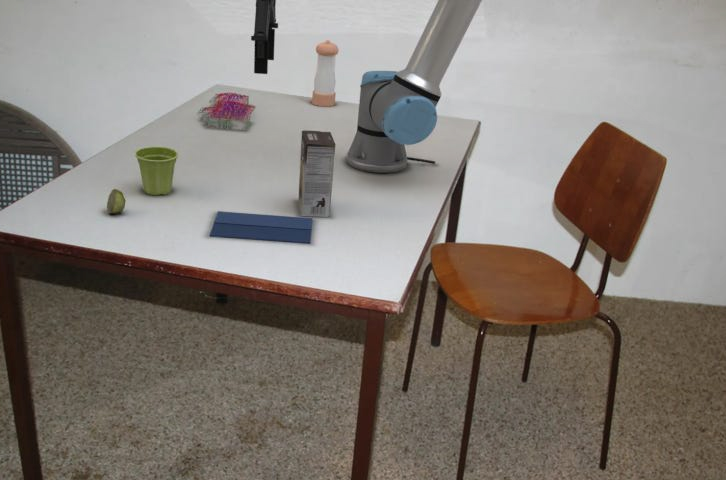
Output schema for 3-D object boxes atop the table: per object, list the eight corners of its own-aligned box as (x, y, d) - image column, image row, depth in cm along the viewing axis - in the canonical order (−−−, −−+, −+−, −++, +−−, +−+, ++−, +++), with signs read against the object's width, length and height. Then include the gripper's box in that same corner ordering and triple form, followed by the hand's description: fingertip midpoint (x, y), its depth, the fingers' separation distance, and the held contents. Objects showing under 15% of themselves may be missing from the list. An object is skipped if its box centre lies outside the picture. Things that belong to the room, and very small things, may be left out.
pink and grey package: (214, 100, 247) (214, 83, 244) (262, 105, 246) (262, 88, 243) (191, 127, 221) (190, 109, 218) (244, 132, 220) (245, 114, 217)
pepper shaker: (310, 105, 249) (314, 41, 240) (313, 99, 256) (317, 37, 246) (333, 107, 249) (338, 43, 239) (336, 101, 255) (341, 39, 245)
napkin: (312, 220, 168) (312, 218, 168) (310, 243, 158) (310, 241, 158) (218, 213, 169) (218, 211, 168) (209, 236, 158) (209, 233, 158)
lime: (116, 218, 163) (115, 195, 161) (99, 212, 165) (97, 189, 163) (131, 212, 166) (130, 189, 164) (114, 206, 168) (113, 184, 166)
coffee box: (297, 200, 178) (301, 129, 170) (325, 201, 178) (331, 130, 170) (300, 216, 170) (305, 142, 162) (330, 217, 170) (336, 143, 162)
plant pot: (186, 187, 181) (185, 150, 176) (166, 201, 173) (165, 162, 168) (149, 180, 183) (148, 144, 179) (128, 194, 175) (126, 155, 171)
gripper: (255, -49, 171) (253, 53, 182) (240, -37, 149) (239, 78, 160) (290, -47, 171) (286, 55, 181) (280, -35, 149) (276, 80, 160)
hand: (264, 66), depth 171 cm, fingers open, 13 cm apart
